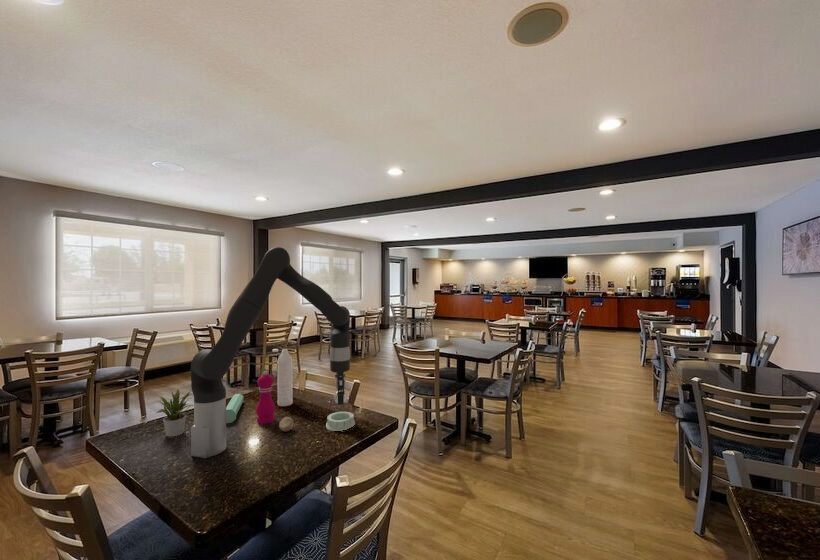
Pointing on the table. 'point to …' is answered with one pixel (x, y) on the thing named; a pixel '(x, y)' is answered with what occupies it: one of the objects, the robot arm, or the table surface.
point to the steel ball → (337, 396)
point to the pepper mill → (265, 399)
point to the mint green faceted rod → (233, 407)
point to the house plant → (174, 414)
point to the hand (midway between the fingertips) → (340, 401)
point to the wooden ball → (286, 424)
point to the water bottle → (284, 378)
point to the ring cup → (340, 421)
